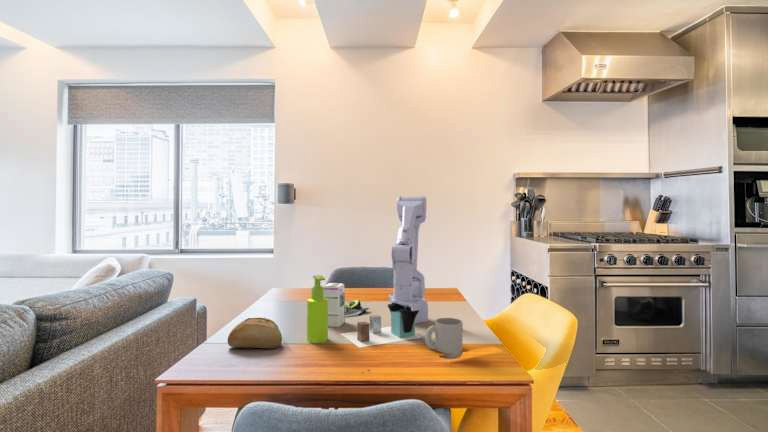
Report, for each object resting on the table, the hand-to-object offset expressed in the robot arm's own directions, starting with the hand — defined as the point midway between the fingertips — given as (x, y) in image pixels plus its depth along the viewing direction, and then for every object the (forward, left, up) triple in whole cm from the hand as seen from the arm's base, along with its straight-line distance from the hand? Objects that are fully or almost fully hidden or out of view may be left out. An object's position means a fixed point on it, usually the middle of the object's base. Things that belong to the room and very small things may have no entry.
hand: (402, 329), depth 122 cm
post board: (+7, -2, -3) cm, 7 cm away
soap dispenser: (+25, -6, -3) cm, 25 cm away
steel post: (+7, -5, -1) cm, 9 cm away
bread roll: (+41, -13, -3) cm, 43 cm away
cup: (-3, +16, -3) cm, 17 cm away
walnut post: (+13, 0, -1) cm, 13 cm away
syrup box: (+15, -20, -3) cm, 25 cm away
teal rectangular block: (0, 0, -1) cm, 1 cm away
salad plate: (+5, -38, -3) cm, 38 cm away
